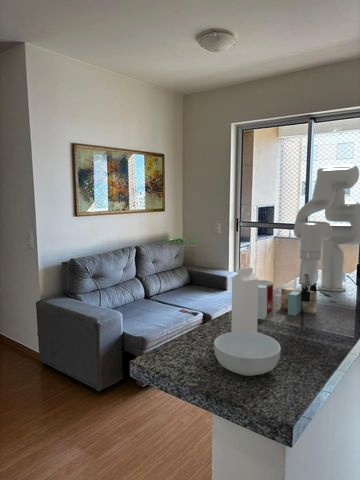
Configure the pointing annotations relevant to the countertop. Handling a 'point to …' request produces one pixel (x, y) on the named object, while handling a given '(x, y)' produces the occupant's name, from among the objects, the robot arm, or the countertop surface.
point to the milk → (244, 301)
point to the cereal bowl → (247, 352)
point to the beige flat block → (307, 306)
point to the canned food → (268, 293)
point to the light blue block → (295, 302)
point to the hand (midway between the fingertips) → (308, 298)
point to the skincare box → (262, 301)
